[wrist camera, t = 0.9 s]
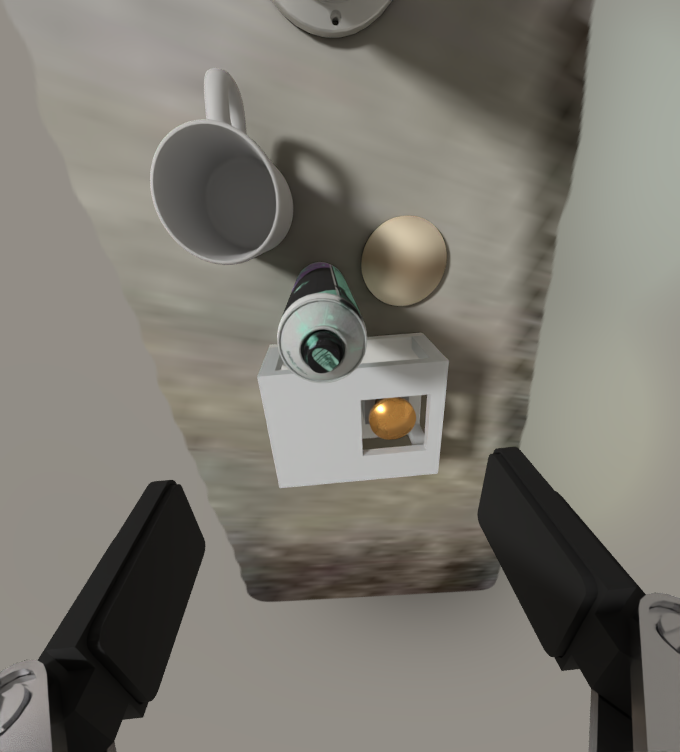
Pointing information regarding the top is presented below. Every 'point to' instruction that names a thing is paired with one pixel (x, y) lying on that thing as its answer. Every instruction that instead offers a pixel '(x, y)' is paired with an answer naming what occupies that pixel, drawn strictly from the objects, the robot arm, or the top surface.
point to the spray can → (321, 327)
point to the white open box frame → (354, 414)
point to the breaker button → (392, 418)
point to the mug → (219, 182)
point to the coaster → (404, 260)
